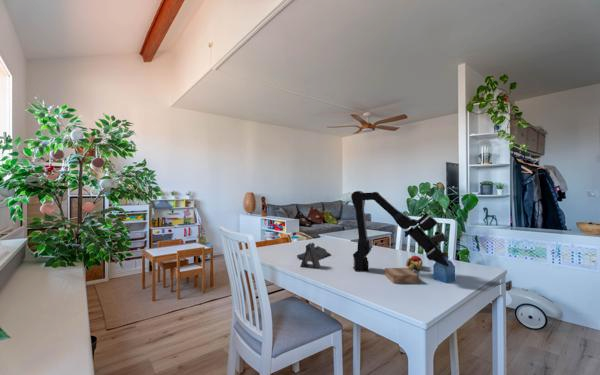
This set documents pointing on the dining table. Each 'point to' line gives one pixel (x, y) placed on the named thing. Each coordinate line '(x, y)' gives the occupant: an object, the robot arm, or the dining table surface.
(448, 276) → the perfume bottle
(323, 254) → the stegosaurus figurine
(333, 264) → the dining table surface
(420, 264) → the kendama
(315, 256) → the phone stand
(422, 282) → the dining table surface
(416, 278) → the walnut plinth
